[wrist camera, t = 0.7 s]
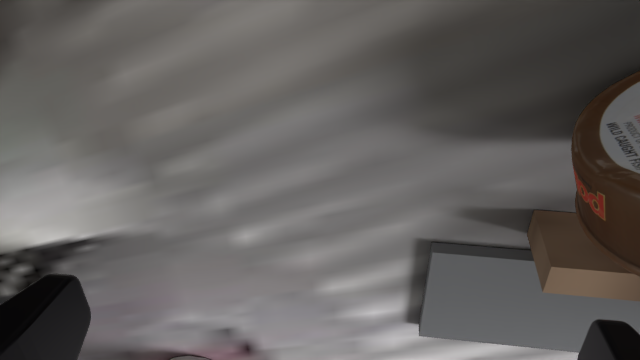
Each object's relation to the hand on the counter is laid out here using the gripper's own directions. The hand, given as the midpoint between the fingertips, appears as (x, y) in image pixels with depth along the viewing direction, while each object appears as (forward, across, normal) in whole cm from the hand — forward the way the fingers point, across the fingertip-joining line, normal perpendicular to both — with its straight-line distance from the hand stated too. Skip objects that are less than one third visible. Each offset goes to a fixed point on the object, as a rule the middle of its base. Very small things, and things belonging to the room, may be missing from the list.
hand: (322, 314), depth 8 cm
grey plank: (+11, -11, +11) cm, 19 cm away
